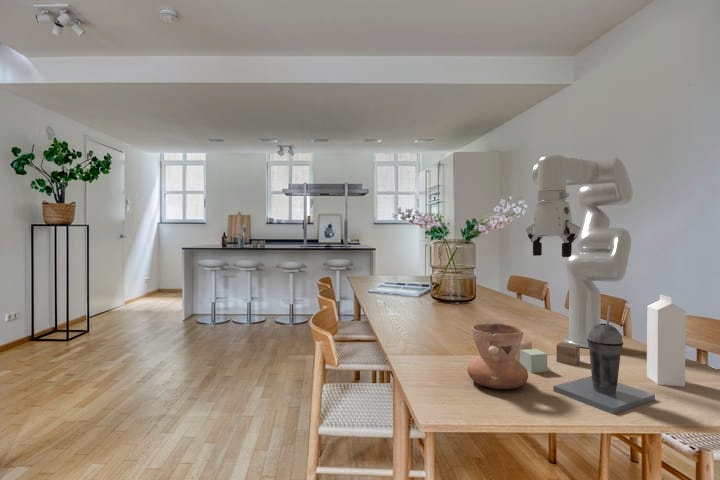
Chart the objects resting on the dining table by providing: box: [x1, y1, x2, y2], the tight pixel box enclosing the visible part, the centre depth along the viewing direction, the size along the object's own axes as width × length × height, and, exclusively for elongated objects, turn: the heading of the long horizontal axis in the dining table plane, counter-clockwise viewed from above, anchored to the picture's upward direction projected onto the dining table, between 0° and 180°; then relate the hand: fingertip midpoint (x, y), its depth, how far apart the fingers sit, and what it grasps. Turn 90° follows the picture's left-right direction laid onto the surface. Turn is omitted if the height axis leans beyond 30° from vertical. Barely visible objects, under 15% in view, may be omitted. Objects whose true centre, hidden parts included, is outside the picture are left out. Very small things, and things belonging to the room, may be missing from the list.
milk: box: [646, 293, 687, 388], centre depth 101 cm, size 6×6×22 cm
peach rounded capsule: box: [514, 339, 533, 363], centre depth 117 cm, size 6×6×6 cm
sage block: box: [520, 348, 548, 374], centre depth 111 cm, size 5×5×5 cm
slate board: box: [552, 375, 656, 415], centre depth 93 cm, size 16×14×1 cm
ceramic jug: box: [466, 322, 529, 390], centre depth 100 cm, size 18×14×14 cm
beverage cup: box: [587, 304, 624, 395], centre depth 92 cm, size 7×7×20 cm
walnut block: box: [556, 341, 581, 366], centre depth 118 cm, size 5×5×5 cm
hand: (551, 256), depth 117 cm, fingers open, 9 cm apart
